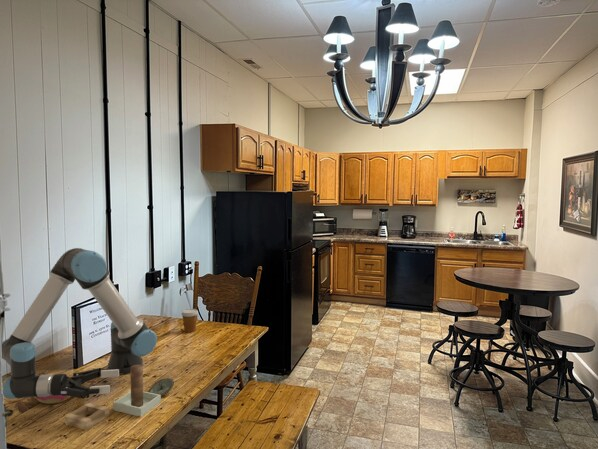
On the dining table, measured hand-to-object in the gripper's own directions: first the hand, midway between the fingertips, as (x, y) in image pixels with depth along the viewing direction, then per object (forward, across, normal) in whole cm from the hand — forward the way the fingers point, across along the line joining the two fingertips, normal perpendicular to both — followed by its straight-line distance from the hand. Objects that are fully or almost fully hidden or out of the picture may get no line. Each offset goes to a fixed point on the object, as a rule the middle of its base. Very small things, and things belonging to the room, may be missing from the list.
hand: (114, 380), depth 157 cm
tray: (+8, 0, -11) cm, 13 cm away
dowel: (+8, 0, -10) cm, 13 cm away
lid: (+16, -10, -11) cm, 22 cm away
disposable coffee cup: (+22, -85, -11) cm, 88 cm away
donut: (-25, -13, -11) cm, 30 cm away
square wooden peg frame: (-8, +7, -11) cm, 15 cm away
